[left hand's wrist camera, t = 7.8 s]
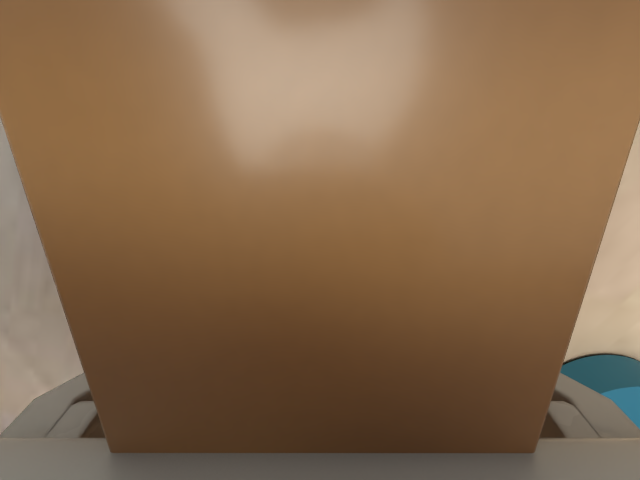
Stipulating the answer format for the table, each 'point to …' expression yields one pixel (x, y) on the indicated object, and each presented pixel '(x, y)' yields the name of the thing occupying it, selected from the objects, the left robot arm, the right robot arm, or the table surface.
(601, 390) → the camera mount
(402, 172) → the box
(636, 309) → the table surface
